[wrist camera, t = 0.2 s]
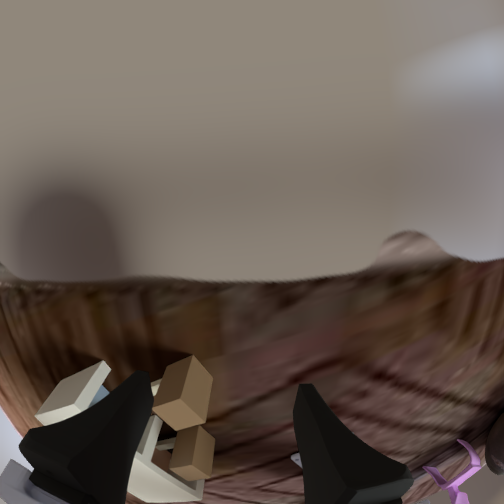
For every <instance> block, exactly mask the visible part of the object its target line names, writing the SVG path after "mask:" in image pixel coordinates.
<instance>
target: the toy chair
mask: <svg viewBox="0 0 504 504" xmlns="http://www.w3.org/2000/svg"><path fill="white" fill-rule="evenodd" d="M457 441H458V442H459V443H461V444H462V445H463V446H464V447H465V448H466V449H467V450H468V452H469V455H470V463H469V465H468V466H467V467H466V468H465V469H464V470H463V471H462V472H461V473H459V474H458V475H457V476H456V477H454V478H453V479H451V480H450V481H448V482H447V481H446V480H445V479H444V478H443V477H442V475H441V474H440V473H439V471H438V470H437V468H435V467H426V466H423V467H422V468H423V469H424V470H426V471H427V472H428V473H429V474H430V475H431V476H432V477H433V479H434V480H435V482H436V484H437V485H438V486H439V487H441V488H442V490H447V489H448V492H449V495H450V499H451V503H452V504H469V501H468V497H467V494H466V493H464V492H460V491H459V489H458V486H459V485H460V484H461V483H463V482H464V481H465V480H466V479H468V478H469V477H470V476H471V475H473V474H474V473H476V472H477V471H478V470H479V469H480V468H481V466H480V458H479V456H478V454H477V453H476V451H475V450H474V449H473V447H472V446H471V445H470V444H469V443H468V442H466V441H463V440H460V439H457Z"/></svg>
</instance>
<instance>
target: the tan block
mask: <svg viewBox="0 0 504 504" xmlns="http://www.w3.org/2000/svg"><path fill="white" fill-rule="evenodd" d="M214 447H215V438H214V437H212V436H211V435H210V434H209V433H208V432H206V431H205V430H204V429H203V428H202V427H201V426H200V425H197V426H194V427H190V428H186V429H183V430H179V431H178V432H177V436H176V437H175V438H171V439H166V440H162V441H157V442H156V445H155V449H154V452H153V455H152V459H151V462H152V463H153V464H155V465H156V466H157V467H159V468H160V469H162V470H163V471H165V472H166V473H167V472H168V468H169V469H170V470H171V471H173V472H174V473H176V474H177V475H179V476H180V477H182V478H184V479H185V480H187V481H193V480H200V479H206V478H211V473H212V464H213V455H214ZM172 448H174V449H173V453H172V454H171V453H169V452H168V451H167V449H172ZM171 455H172V457H171ZM170 459H171V461H170ZM169 463H170V465H169Z"/></svg>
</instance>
